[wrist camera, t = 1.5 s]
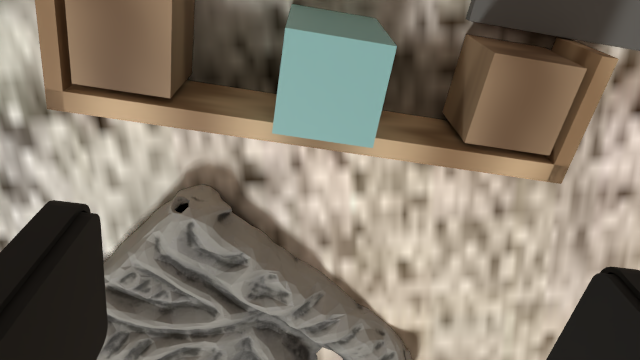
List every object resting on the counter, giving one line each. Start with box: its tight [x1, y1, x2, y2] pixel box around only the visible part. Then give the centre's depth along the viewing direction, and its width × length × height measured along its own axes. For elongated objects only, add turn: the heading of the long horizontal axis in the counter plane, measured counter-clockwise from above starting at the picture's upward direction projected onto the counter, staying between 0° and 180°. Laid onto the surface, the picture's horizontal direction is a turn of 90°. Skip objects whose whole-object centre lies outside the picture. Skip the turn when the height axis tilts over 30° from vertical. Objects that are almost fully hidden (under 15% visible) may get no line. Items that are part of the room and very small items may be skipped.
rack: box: [35, 0, 618, 184], centre depth 24 cm, size 26×7×4 cm, turn 81°
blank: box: [272, 4, 397, 148], centre depth 23 cm, size 4×4×7 cm
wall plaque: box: [97, 185, 412, 360], centre depth 35 cm, size 24×19×4 cm
